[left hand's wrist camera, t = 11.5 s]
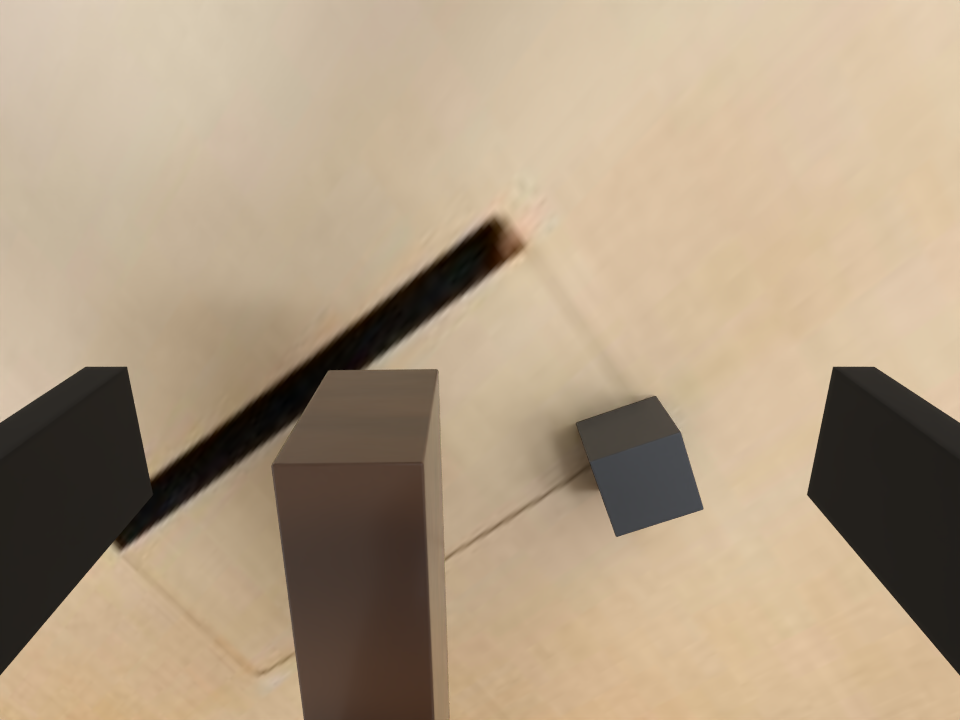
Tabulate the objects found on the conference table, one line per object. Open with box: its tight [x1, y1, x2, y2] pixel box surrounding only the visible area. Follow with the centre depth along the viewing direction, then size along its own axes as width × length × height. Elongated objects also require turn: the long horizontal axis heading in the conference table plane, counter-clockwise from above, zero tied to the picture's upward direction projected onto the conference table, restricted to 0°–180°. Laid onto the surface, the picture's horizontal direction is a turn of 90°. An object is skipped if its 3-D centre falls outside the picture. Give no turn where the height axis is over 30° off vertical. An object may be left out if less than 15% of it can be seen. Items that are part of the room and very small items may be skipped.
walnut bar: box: [272, 369, 450, 720], centre depth 27 cm, size 24×4×8 cm, turn 1°
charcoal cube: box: [576, 396, 703, 537], centre depth 38 cm, size 5×5×5 cm
